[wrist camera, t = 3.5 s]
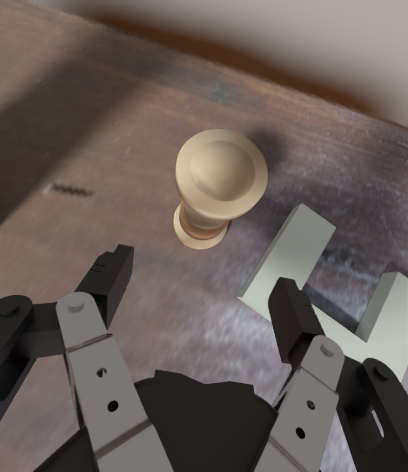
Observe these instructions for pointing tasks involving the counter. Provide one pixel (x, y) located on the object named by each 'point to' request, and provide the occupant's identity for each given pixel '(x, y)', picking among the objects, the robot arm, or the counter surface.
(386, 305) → the notched board
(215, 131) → the bobbin
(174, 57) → the counter surface
